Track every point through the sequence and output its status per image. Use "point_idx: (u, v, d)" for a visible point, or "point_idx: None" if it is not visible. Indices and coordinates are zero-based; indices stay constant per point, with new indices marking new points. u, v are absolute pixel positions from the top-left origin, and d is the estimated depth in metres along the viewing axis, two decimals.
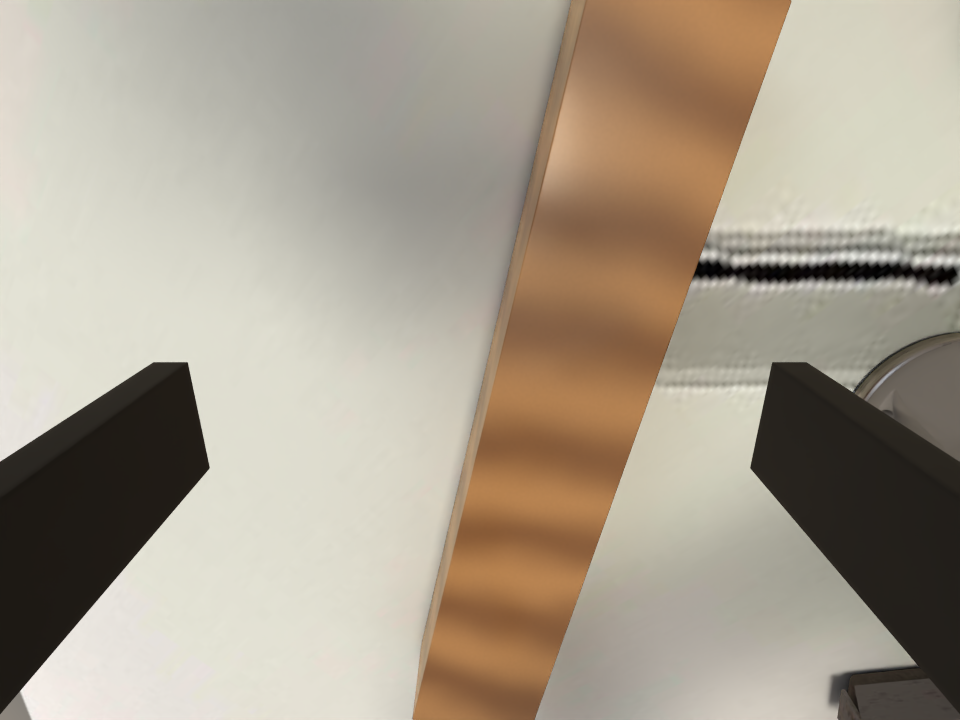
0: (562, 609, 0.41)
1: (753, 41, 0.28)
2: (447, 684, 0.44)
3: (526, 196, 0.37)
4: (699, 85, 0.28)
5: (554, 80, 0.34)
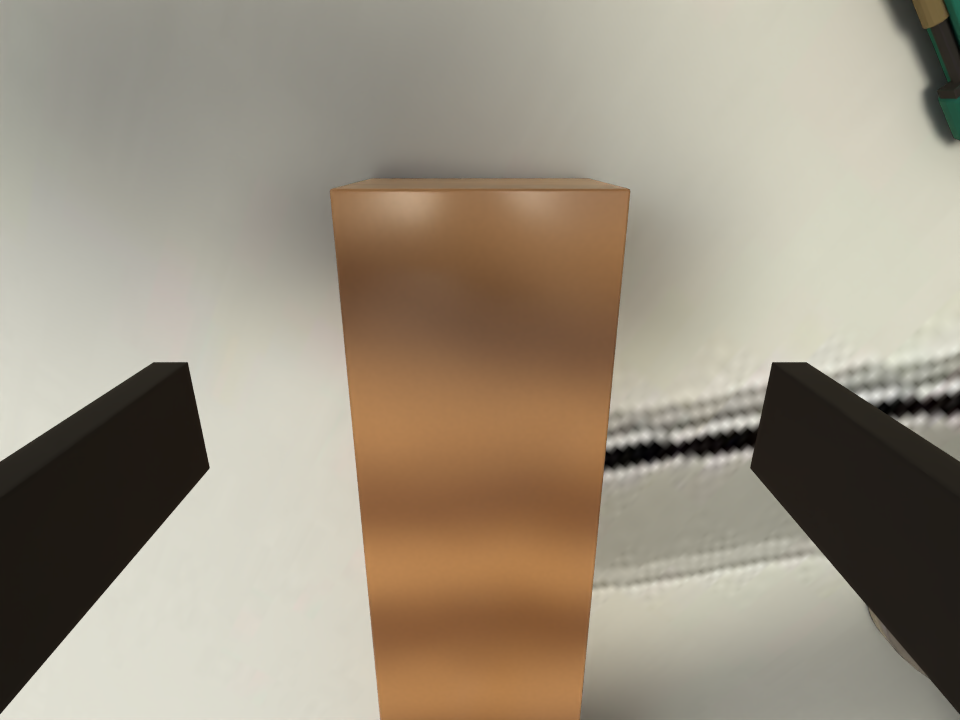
0: None
1: (589, 252, 0.19)
2: None
3: None
4: (530, 321, 0.20)
5: None
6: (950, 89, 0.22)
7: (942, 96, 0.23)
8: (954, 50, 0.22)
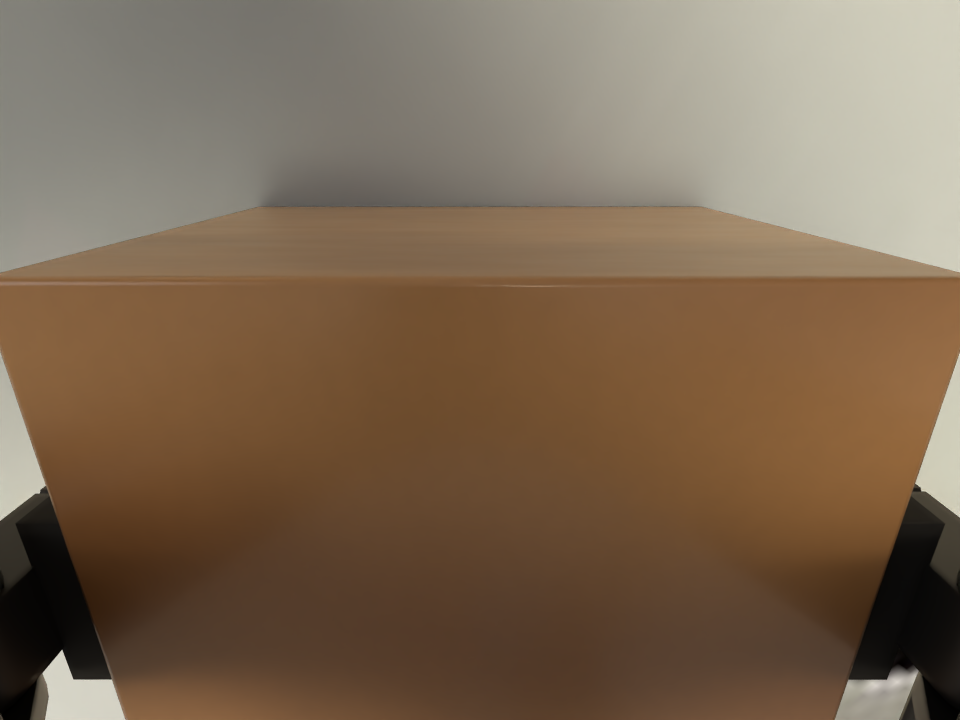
0: None
1: (816, 463, 0.06)
2: None
3: None
4: (621, 629, 0.07)
5: None
6: None
7: None
8: None
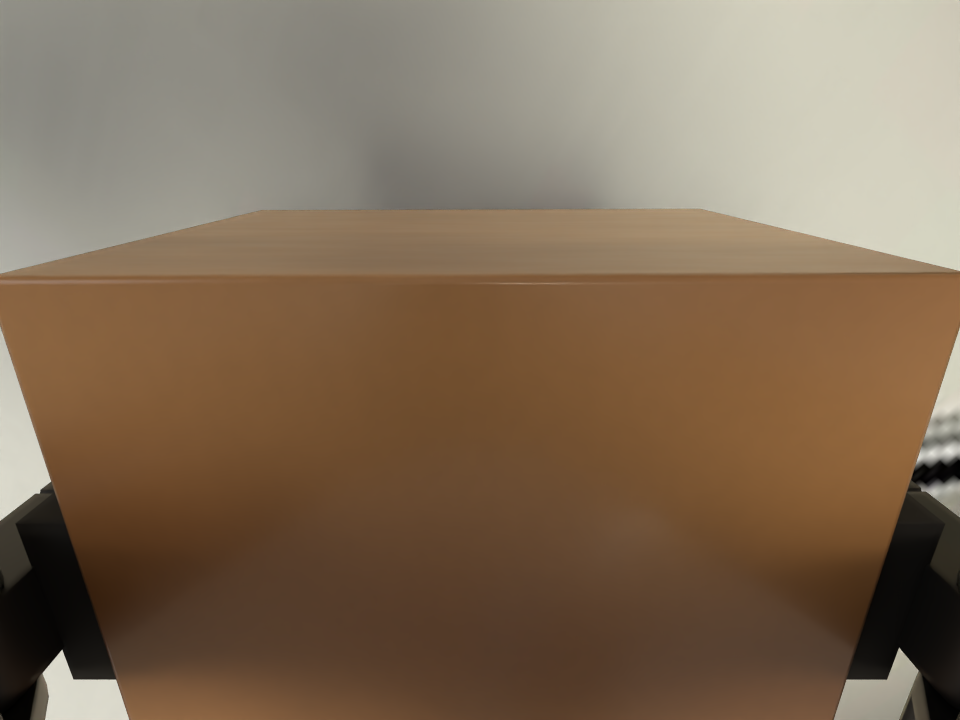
0: None
1: (813, 458, 0.06)
2: None
3: None
4: (620, 625, 0.07)
5: None
6: None
7: None
8: None
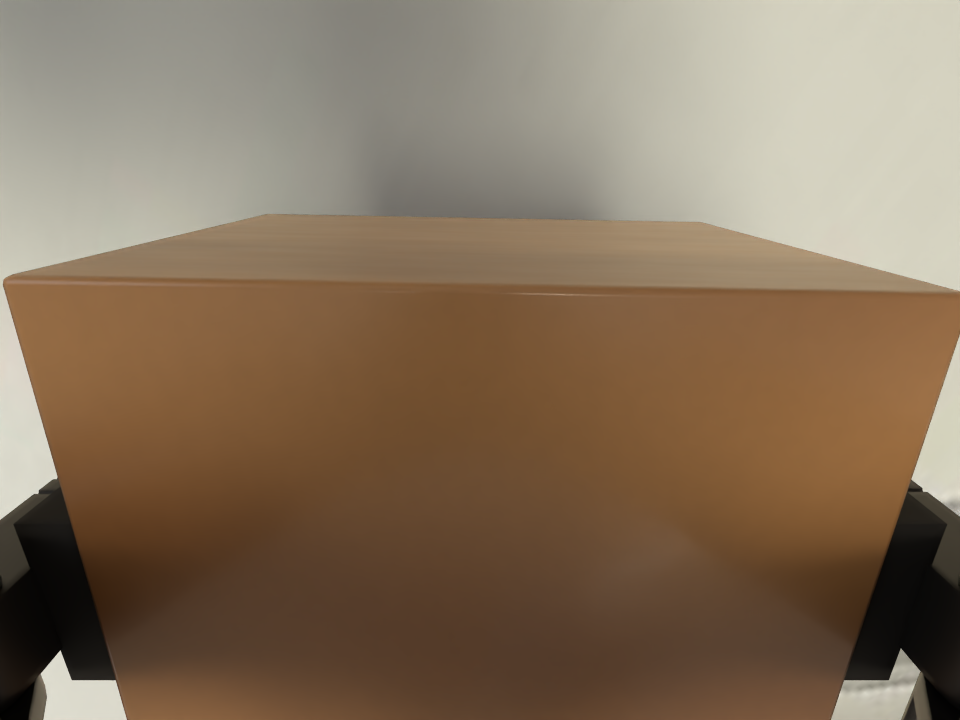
0: None
1: (811, 470, 0.06)
2: None
3: None
4: (620, 633, 0.07)
5: None
6: None
7: None
8: None
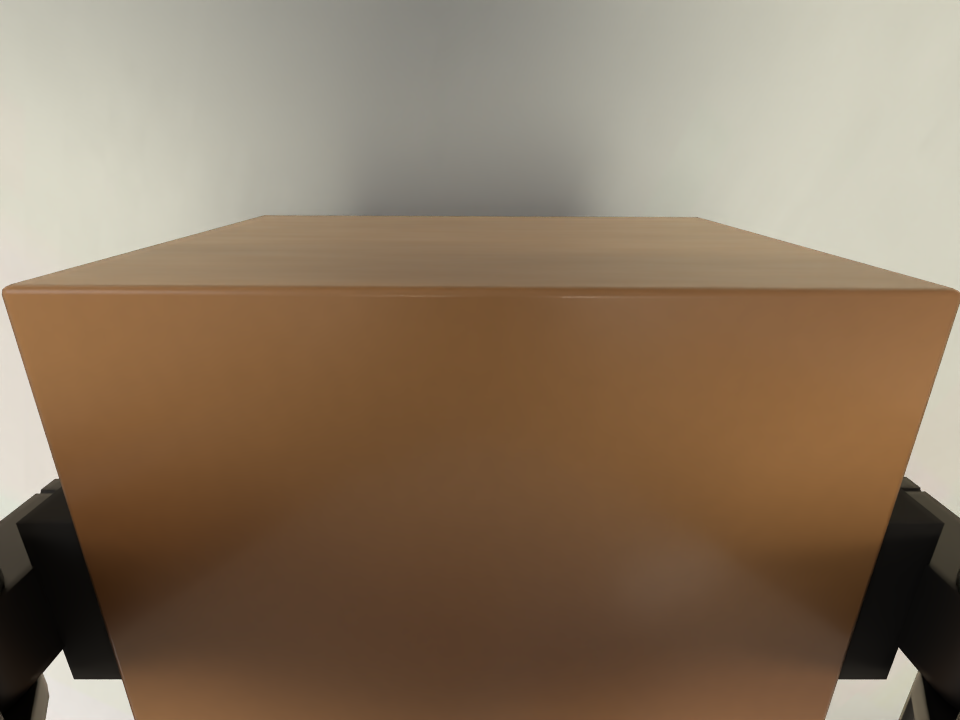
0: None
1: (805, 466, 0.06)
2: None
3: None
4: (617, 628, 0.07)
5: None
6: None
7: None
8: None
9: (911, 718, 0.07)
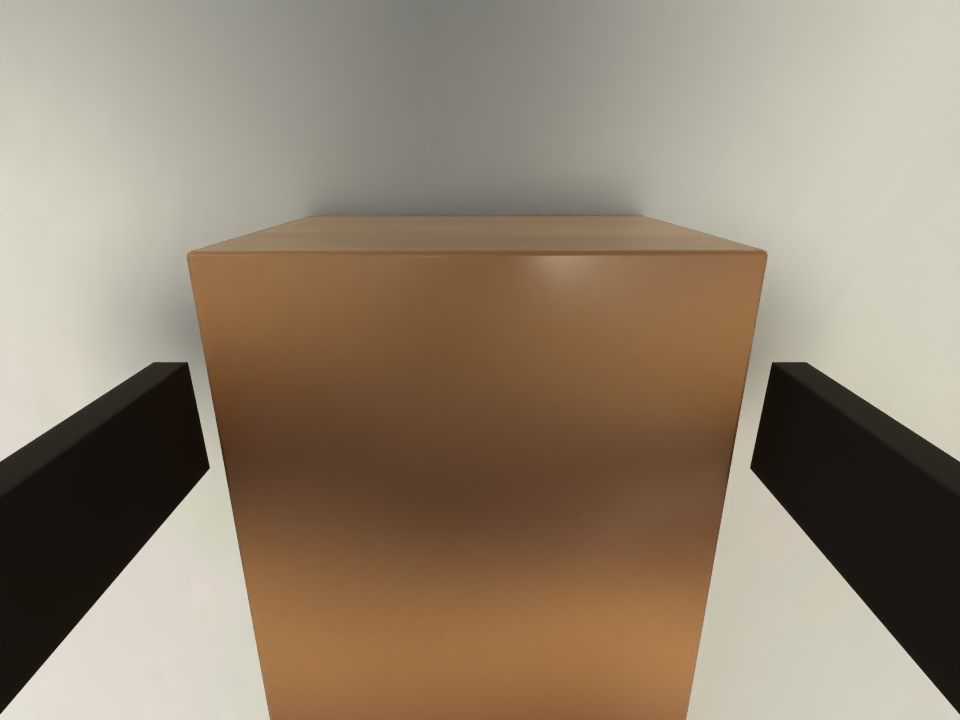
0: None
1: (683, 366, 0.10)
2: None
3: None
4: (570, 483, 0.11)
5: None
6: None
7: None
8: None
9: None
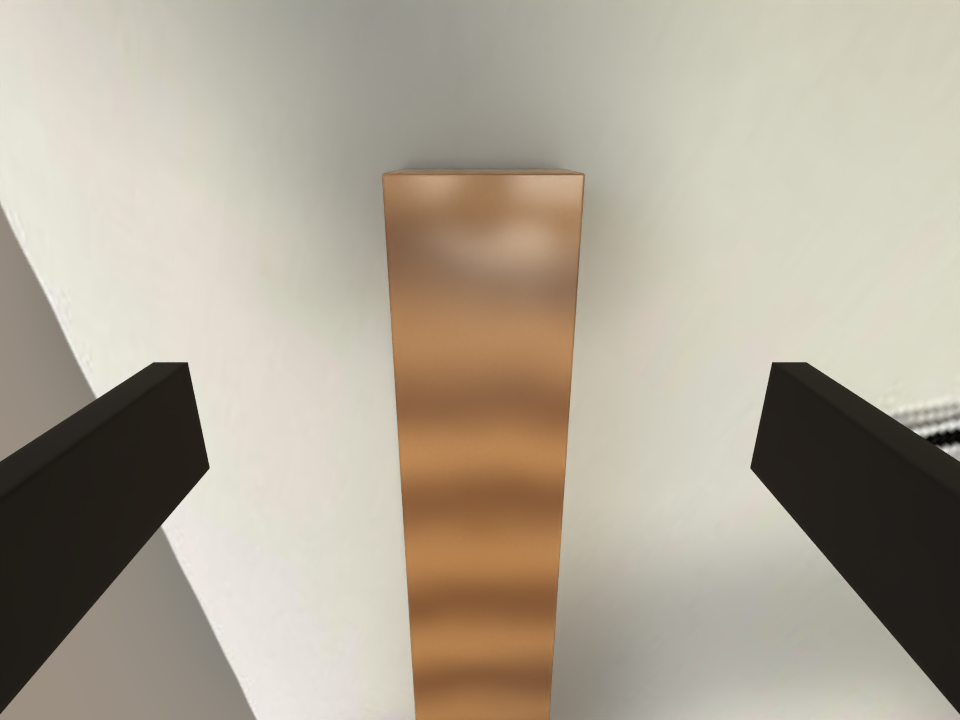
0: None
1: (557, 217, 0.28)
2: None
3: None
4: (518, 266, 0.29)
5: None
6: None
7: None
8: None
9: None
